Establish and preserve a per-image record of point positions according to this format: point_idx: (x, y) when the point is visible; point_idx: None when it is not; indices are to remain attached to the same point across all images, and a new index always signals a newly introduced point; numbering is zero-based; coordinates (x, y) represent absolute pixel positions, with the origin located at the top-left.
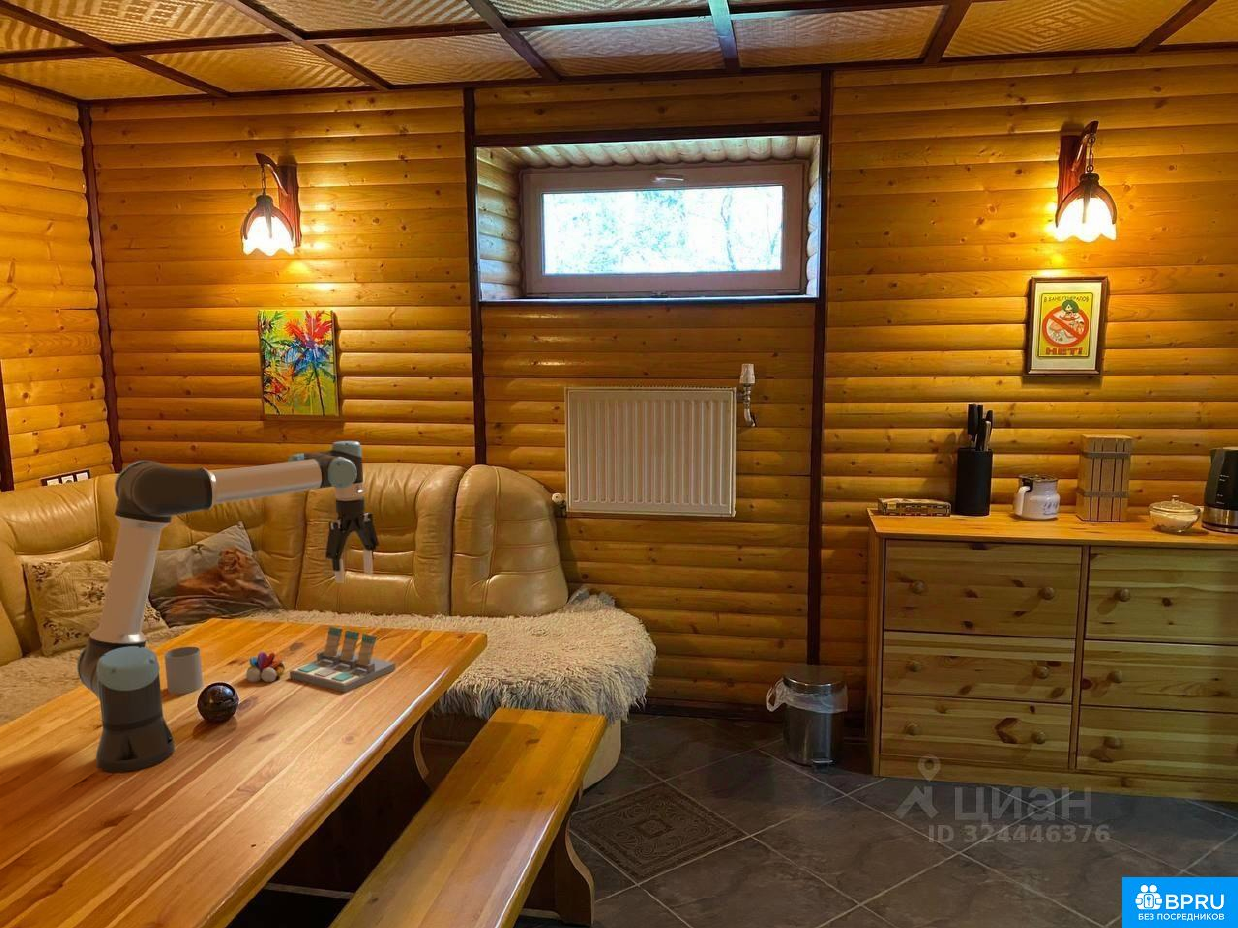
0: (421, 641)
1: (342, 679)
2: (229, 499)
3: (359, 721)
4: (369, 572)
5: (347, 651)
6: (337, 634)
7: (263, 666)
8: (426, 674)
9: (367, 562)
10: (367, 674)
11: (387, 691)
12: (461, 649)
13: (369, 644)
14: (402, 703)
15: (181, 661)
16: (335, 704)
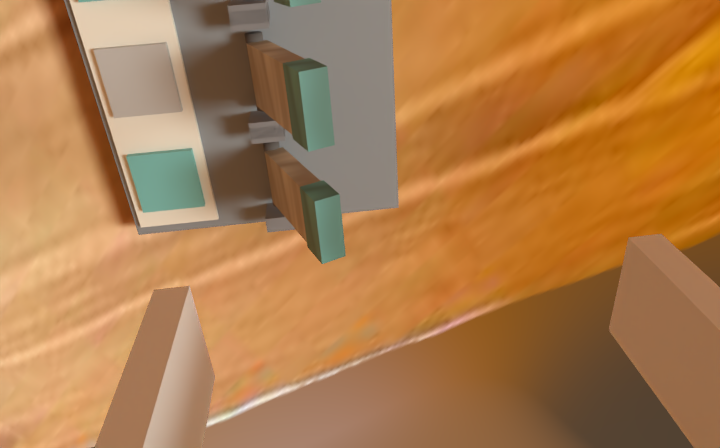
0: (698, 34)
1: (147, 208)
2: None
3: (72, 395)
4: (620, 319)
5: (267, 92)
6: (276, 1)
7: None
8: (417, 299)
9: (698, 396)
10: (258, 216)
11: (250, 308)
12: (656, 230)
13: (305, 234)
14: (224, 391)
15: None
16: (72, 268)
